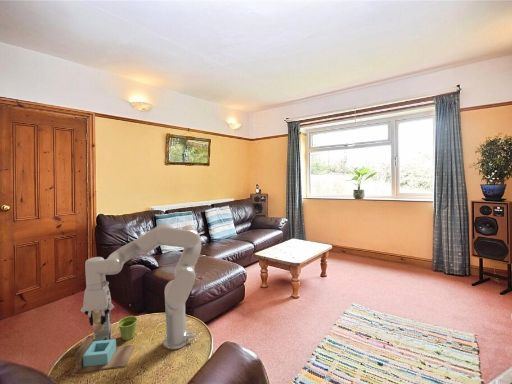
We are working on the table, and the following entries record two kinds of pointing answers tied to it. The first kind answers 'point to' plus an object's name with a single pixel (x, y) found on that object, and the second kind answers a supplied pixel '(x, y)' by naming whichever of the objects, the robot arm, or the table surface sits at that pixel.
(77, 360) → the backstop board
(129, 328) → the plant pot
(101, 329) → the dowel
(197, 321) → the table surface
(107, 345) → the hole block
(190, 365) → the table surface
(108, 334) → the coffee box
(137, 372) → the table surface
